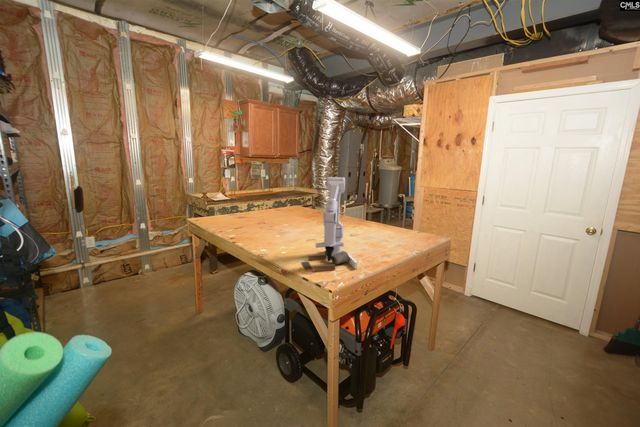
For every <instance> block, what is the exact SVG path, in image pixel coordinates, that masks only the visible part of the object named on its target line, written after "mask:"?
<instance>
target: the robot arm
mask: <svg viewBox="0 0 640 427" xmlns="http://www.w3.org/2000/svg"><path fill="white" fill-rule="evenodd" d="M326 187H327V191H328V192H329V199H328V200H327V201H326V206H325V212H324V213H323V216H322V217H323V218H322V219H323V227H324V232H323V234H324V236H323V237H324V238H323V242H316V243H315V248H316V249H318V248H324V249H325V251H326V252H327V259H326V260H327V261H328V262H332V260H331V254H332V253H334V254H338V253H340V252H341V250H342V247H344V244H345V243H344V242H343V241H342V239H343V238H344V236H345V235H344V234H345V232H344V231H345V230H344V224H343V223H341V222H340V213H341V212H340V210H341V208H340V207H341V197H342V194H344V193H345V189H346V178H345V177H344V176H343V177H339V176H337V177H336V176H335V177H334V176H332V177H331V176H328V177H327V178H326Z"/></svg>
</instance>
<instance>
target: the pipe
mask: <svg viewBox="0 0 640 427" xmlns="http://www.w3.org/2000/svg"><path fill="white" fill-rule="evenodd" d="M345 251H346V250H345ZM345 251H343V250H342V251H341V252H340V253H338V254H334V253H332V254H331V262H332V264H335V265H338V264H339V265H340V264H342V263H343V264H344V263H349V261H350V257H349V255H350V254H349V253H348V252H347V251H346V252H345ZM324 254H325V255H326V256H327V252H326V250H325V251H324ZM348 254H349V255H348Z"/></svg>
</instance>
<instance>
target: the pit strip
mask: <svg viewBox="0 0 640 427" xmlns="http://www.w3.org/2000/svg"><path fill="white" fill-rule="evenodd" d="M301 265H302V266H303V268H304V270H306V271H307V270H313V267H312V265H311V264H310V262H309V261H302V262H301Z"/></svg>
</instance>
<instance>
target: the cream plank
mask: <svg viewBox="0 0 640 427" xmlns="http://www.w3.org/2000/svg"><path fill="white" fill-rule="evenodd" d="M342 251H345V252H347V251H346V250H345V249H343V250H342ZM348 255H349V257H350V261H349V262H348V264H350V266H352V267H353V269H354V270H358V261H357V260H355V258H354V257H353V256H351V255H350V254H349V253H348Z"/></svg>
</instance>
